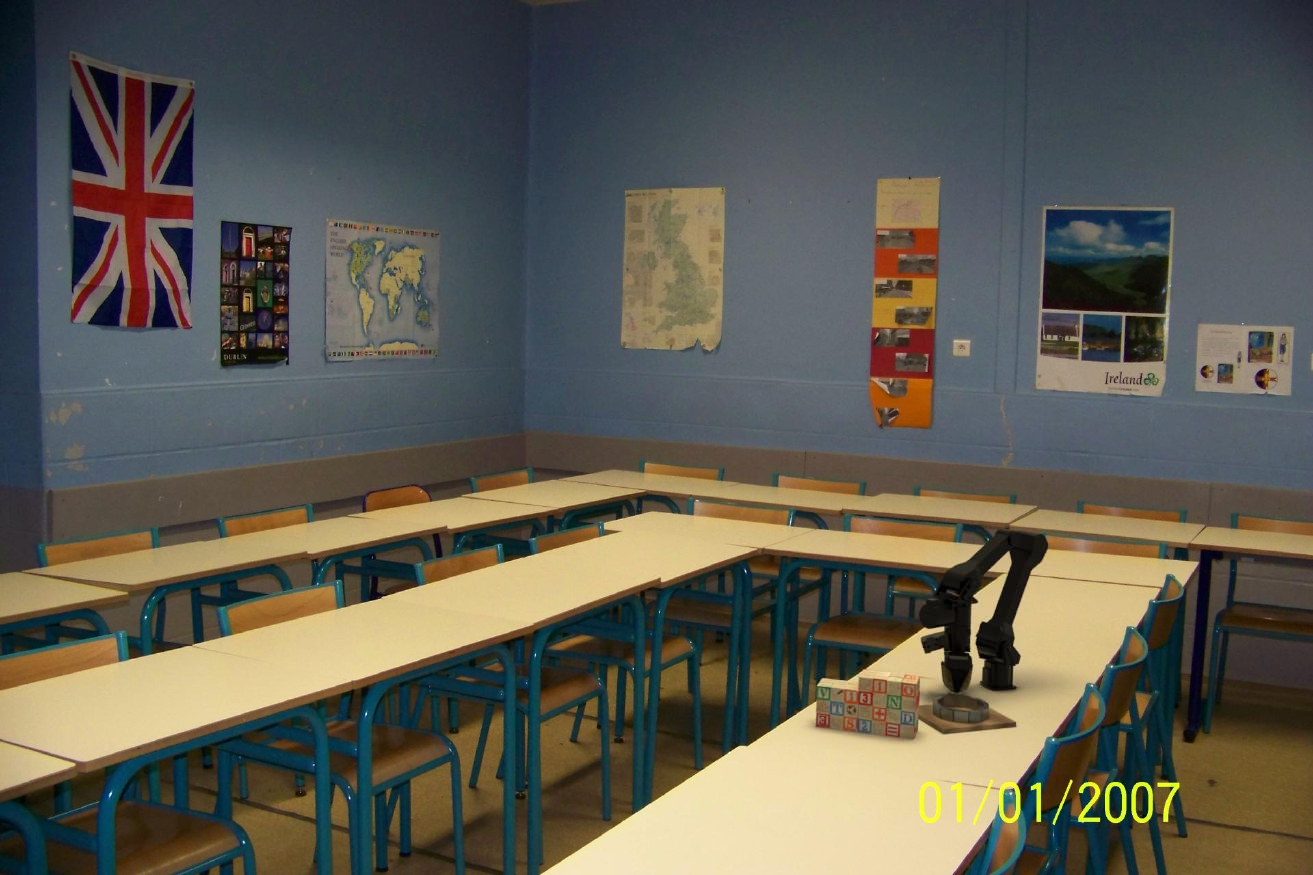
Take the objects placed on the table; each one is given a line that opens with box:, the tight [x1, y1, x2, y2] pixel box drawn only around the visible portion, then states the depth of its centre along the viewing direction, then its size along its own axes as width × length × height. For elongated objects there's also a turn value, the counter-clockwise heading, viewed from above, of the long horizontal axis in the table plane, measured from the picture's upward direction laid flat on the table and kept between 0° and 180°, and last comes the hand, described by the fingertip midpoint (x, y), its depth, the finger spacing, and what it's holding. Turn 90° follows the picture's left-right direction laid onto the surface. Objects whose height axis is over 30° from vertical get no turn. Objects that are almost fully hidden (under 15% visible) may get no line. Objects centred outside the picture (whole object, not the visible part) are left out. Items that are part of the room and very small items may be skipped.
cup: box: [940, 659, 974, 696], centre depth 279 cm, size 8×7×8 cm
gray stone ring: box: [932, 694, 990, 723], centre depth 262 cm, size 12×12×2 cm
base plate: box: [918, 703, 1017, 735], centre depth 263 cm, size 18×16×1 cm
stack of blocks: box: [815, 669, 921, 740], centre depth 255 cm, size 21×6×12 cm, turn 69°
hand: (956, 688), depth 279 cm, fingers closed on cup, 6 cm apart
